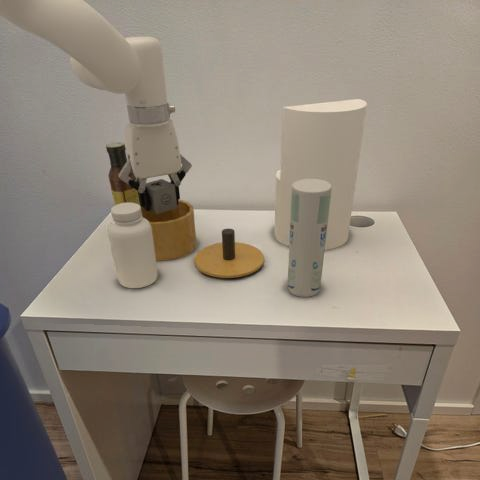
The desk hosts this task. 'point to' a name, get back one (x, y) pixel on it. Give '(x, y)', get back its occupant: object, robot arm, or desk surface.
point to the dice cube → (161, 196)
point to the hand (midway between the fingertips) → (160, 205)
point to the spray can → (307, 235)
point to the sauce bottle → (118, 187)
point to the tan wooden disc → (229, 258)
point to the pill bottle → (132, 246)
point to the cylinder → (320, 161)
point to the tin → (172, 231)
